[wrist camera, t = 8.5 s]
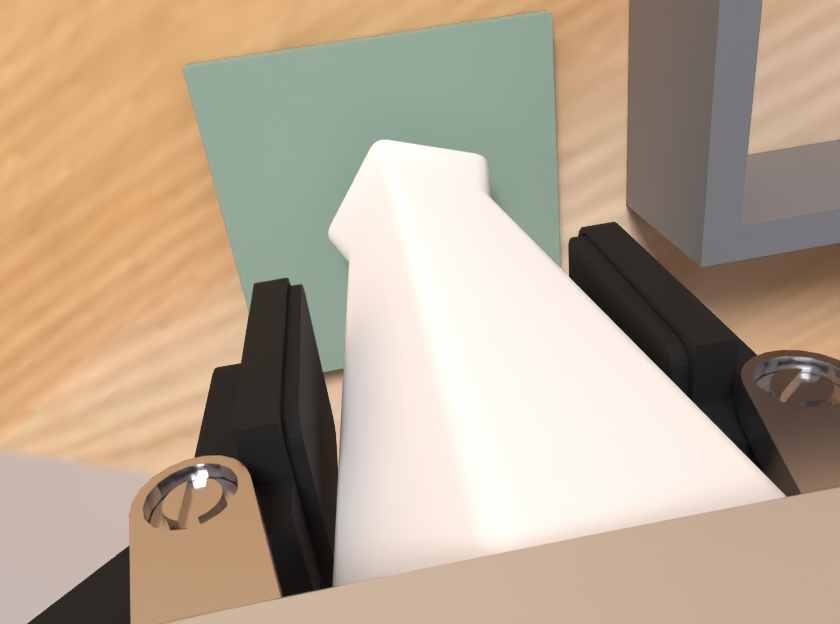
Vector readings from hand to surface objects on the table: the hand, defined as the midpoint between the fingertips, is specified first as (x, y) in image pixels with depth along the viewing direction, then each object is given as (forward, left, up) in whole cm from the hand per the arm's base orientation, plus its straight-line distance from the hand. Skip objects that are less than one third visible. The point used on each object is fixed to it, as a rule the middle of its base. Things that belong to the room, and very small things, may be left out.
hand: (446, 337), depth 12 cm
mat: (0, 0, -7) cm, 7 cm away
